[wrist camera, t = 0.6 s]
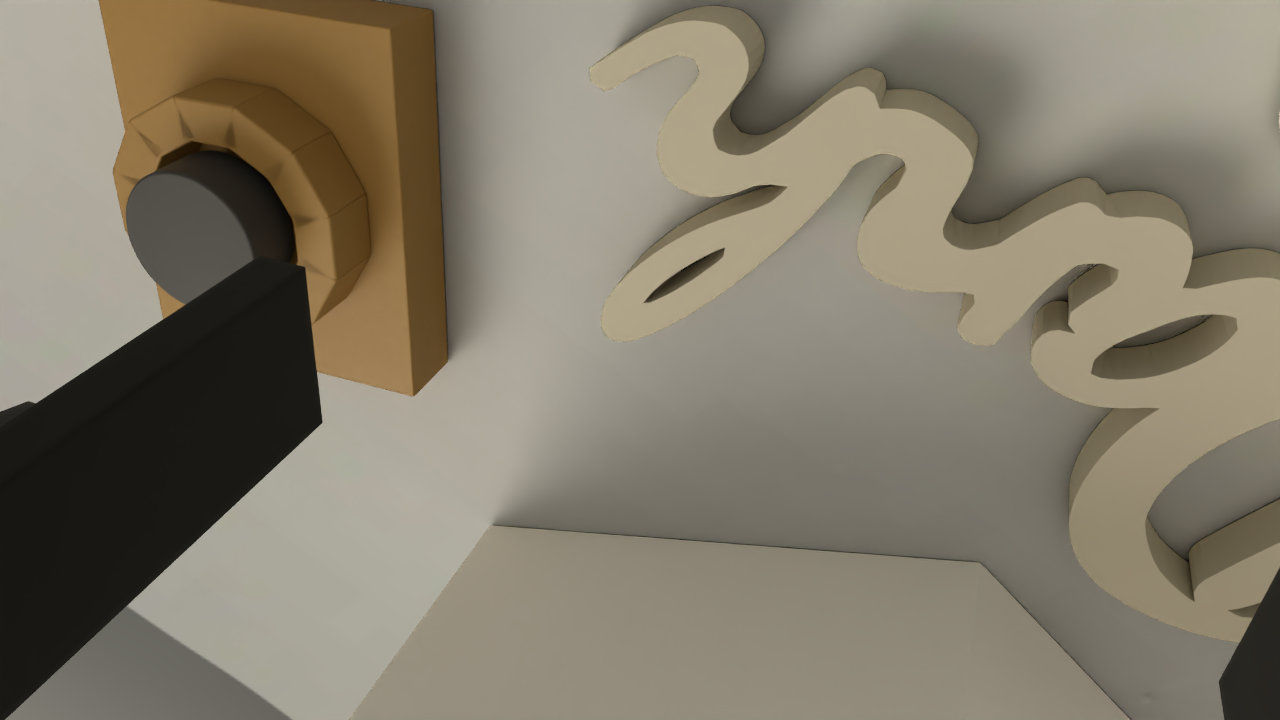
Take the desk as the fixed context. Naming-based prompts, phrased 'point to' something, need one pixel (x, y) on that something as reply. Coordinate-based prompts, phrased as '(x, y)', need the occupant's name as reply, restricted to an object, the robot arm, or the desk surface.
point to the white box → (723, 638)
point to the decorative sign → (992, 295)
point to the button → (205, 222)
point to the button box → (308, 153)
